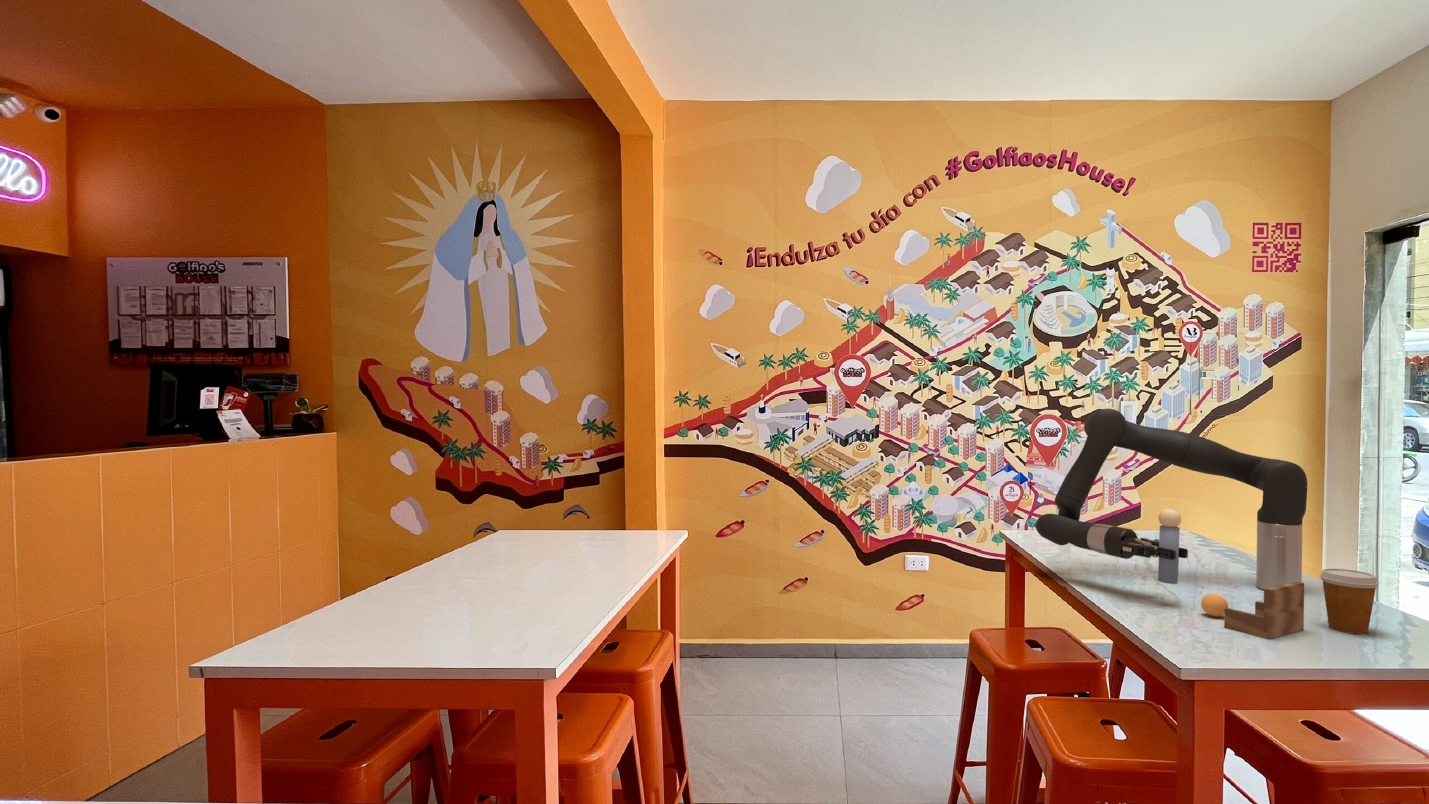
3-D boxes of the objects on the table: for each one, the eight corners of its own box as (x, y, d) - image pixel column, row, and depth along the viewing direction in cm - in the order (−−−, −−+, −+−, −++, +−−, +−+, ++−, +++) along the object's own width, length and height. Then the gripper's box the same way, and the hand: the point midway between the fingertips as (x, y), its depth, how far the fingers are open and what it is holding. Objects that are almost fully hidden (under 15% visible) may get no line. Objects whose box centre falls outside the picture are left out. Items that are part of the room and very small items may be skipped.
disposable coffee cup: (1354, 623, 159) (1355, 568, 159) (1390, 637, 150) (1391, 579, 150) (1307, 621, 160) (1308, 567, 160) (1340, 635, 151) (1341, 577, 151)
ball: (1209, 611, 167) (1209, 590, 167) (1232, 617, 162) (1233, 595, 162) (1196, 614, 165) (1196, 592, 165) (1220, 620, 160) (1220, 598, 160)
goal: (1257, 619, 162) (1258, 574, 162) (1303, 630, 154) (1304, 583, 154) (1224, 627, 156) (1224, 580, 156) (1270, 639, 148) (1270, 590, 148)
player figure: (1164, 578, 176) (1166, 506, 175) (1183, 583, 171) (1185, 509, 171) (1152, 580, 173) (1154, 507, 173) (1172, 585, 169) (1174, 510, 169)
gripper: (1094, 527, 182) (1163, 541, 167) (1129, 524, 188) (1199, 536, 173) (1093, 557, 182) (1162, 573, 167) (1129, 553, 188) (1198, 567, 173)
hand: (1180, 554), depth 170 cm, fingers closed on player figure, 4 cm apart
